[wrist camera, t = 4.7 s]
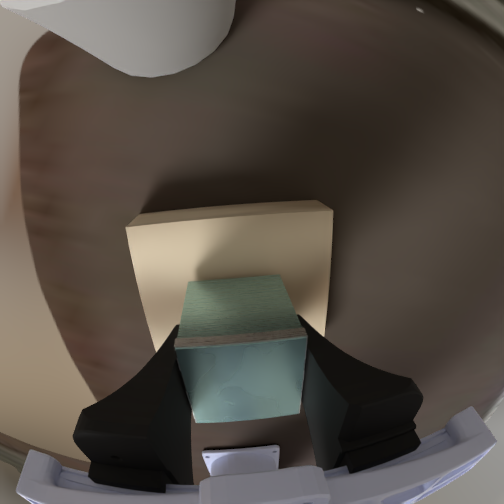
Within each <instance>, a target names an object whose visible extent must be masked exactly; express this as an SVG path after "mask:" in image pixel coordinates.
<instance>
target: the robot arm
mask: <svg viewBox="0 0 504 504" xmlns="http://www.w3.org/2000/svg"><path fill="white" fill-rule="evenodd" d="M297 316H298V319H299V321H300V324H301V326H302V327H304V328H305V331H306V333H307V335H308V338H307V349H306V360H305V370H304V380H303V389H302V397H301V400H302V403H303V406H304V409H305V413H306V417H307V422H308V426H309V430H310V435H311V439H312V444H313V449H314V454H315V459H316V465H317V467H316V466H311V465H307V466H296V467H290V468H283V469H278V465H279V450H280V448H279V446H278V445H270V446H261V447H252V448H241V449H226V450H204V451H202V456H203V458H204V461H205V463H206V465H207V468H208V470H209V472H210V474H211V477H209V478H206V479H204V480H202V481H201V482H200V485H194V483H193V472H192V456H191V412H192V409H191V406H190V403H189V399H188V396H187V393H186V390H185V386H184V383H183V380H182V376H181V373H180V369H179V365H178V362H177V358H176V354H175V350H174V343H175V338H177V336H178V331H179V325H180V324H178V325H176V326H175V327H174V328H173V330H172V331H171V333H170V334H169V336H168V337H167V339H166V340H165V341H164V343H163V344H162V346H161V347H160V348H159V350H158V351H157V352H156V353H155V355H154V356H153V357H152V358H151V359H150V361H149V362H148V363H147V364H146V365H145V366H144V367H143V369H142V370H141V371H140V372H139V373H138V374H136V375H135V376H134V377H133V378H132V379H131V380H130V381H128V382H127V383H126V384H125V385H123V386H122V387H121V388H120V389H118V390H117V391H115V392H114V393H112V394H111V395H109V396H107V397H106V398H104V399H102V400H101V401H99V402H97V403H95V404H93V405H91V406H89V407H87V408H85V409H83V410H82V412H81V414H80V416H79V419H78V422H77V425H76V428H75V431H74V434H73V439H74V442H75V443H76V445H77V446H78V447H79V448H80V450H81V451H82V452H83V453H84V454H85V455H86V456H87V457H88V458H89V459H90V460H91V465H90V469H89V473H87V472H83V471H79V470H75V469H71V468H67V467H64V466H62V465H61V464H60V463H59V462H58V461H57V460H56V459H55V458H53V457H51V456H49V455H47V454H44V453H41V452H38V451H35V450H30V451H29V453H28V456H27V459H26V461H25V464H24V467H23V470H22V473H21V476H20V479H19V482H18V485H17V488H16V492H17V493H18V494H19V495H21V496H22V497H23V498H25V499H26V500H28V501H29V502H31V503H32V504H413V503H415V502H417V501H419V500H421V499H423V498H425V497H426V496H428V495H430V494H432V493H434V492H435V491H437V490H438V489H440V488H442V487H444V486H445V485H447V484H448V483H450V482H452V481H453V480H455V479H457V478H458V477H460V476H461V475H463V474H464V473H466V472H468V471H469V470H470V469H471V468H473V466H475V464H477V463H478V462H479V461H480V460H481V459H482V458H483V457H484V456H485V455H486V454H487V453H488V452H489V451H490V450H491V448H492V447H493V446H494V445H495V444H496V443H497V440H496V439H495V437H494V436H493V434H492V433H491V431H490V430H489V429H488V427H487V426H486V425H485V423H484V422H483V420H482V419H481V417H480V416H479V415H478V413H477V412H476V411H475V409H474V408H473V407H472V406H470V407H469V408H467V409H465V410H463V411H461V412H460V413H458V414H456V415H454V416H453V417H452V418H451V419H450V420H449V421H448V423H447V424H446V426H445V428H443V429H441V430H439V431H437V432H435V433H433V434H431V435H428V436H426V437H424V438H422V439H419V438H418V436H417V434H416V432H415V431H414V429H415V428H416V424H415V423H414V421H413V419H414V417H415V416H416V414H417V412H418V410H419V409H420V407H421V404H422V402H423V395H422V393H421V392H420V390H419V389H418V387H417V385H416V384H415V383H414V382H413V380H412V379H411V378H407V377H403V376H399V375H395V374H391V373H388V372H385V371H382V370H379V369H377V368H374V367H372V366H370V365H367V364H365V363H363V362H361V361H359V360H357V359H355V358H353V357H352V356H350V355H348V354H347V353H345V352H343V351H342V350H340V349H339V348H337V347H336V346H335V345H333V344H332V343H331V342H329V341H328V340H327V339H326V338H325V337H323V336H322V335H321V334H320V333H319V332H318V331H316V330H315V329H314V328H313V327H312V326H311V325H310V324H309V323H308V322H307V321H306V320H305V319H304V318H303V317H302V316H300V315H299V314H297Z"/></svg>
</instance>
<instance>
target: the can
mask: <svg viewBox="0 0 504 504" xmlns="http://www.w3.org/2000/svg"><path fill="white" fill-rule="evenodd" d="M235 3H236V0H0V4H1V6H2V7H4V8H6V9H8V10H10V11H12V12H15V13H16V14H19V15H21V16H23V17H25V18H27V19H29V20H31V21H33V22H35V23H37V24H39V25H40V26H43V27H45V28H46V29H48V30H50V31H52V32H54V33H55V34H57V35H59V36H61V37H63V38H65V39H66V40H68V41H70V42H72V43H73V44H75V45H77V46H79V47H80V48H82V49H84V50H85V51H87V52H89V53H90V54H92V55H94V56H95V57H97V58H99V59H100V60H102V61H104V62H105V63H107V64H108V65H110V66H112V67H113V68H115V69H117V70H120V71H122V72H124V73H126V74H129V75H131V76H142V77H157V76H163V75H169V74H175V73H177V72H179V71H182V70H184V69H186V68H189V67H191V66H194V65H196V64H197V63H199V62H200V61H201V60H203V59H204V58H205V57H207V56H208V55H210V54H211V53H212V52H214V51H215V50H216V48H217V47H218V46H219V45H220V43H221V42H222V41H223V40H224V38H225V37H226V36H227V35H228V32H229V29H230V26H231V23H232V21H233V18H234V11H235Z"/></svg>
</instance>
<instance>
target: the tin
mask: <svg viewBox="0 0 504 504" xmlns="http://www.w3.org/2000/svg"><path fill="white" fill-rule="evenodd" d="M307 338H308V335H307V333H306V331H305V328H304V327H302V326H301V324H300V321H299V319H298V316H297V314H296V312H295V309H294V307H293V305H292V302H291V300H290V298H289V295H288V293H287V291H286V288H285V286H284V284H283V281H282V279H281V277H280V274H277V275H266V276H254V277H242V278H230V279H217V280H203V281H189V282H188V285H187V290H186V295H185V300H184V305H183V310H182V315H181V320H180V325H179V331H178V336H177V338H175V343H174V350H175V354H176V358H177V362H178V365H179V369H180V373H181V376H182V380H183V383H184V386H185V390H186V393H187V396H188V399H189V403H190V406H191V409H192V412H193V415H194V418H195V421H196V423H211V422H229V421H242V420H253V419H262V418H271V417H278V416H285V415H292V414H298V413H300V406H301V397H302V389H303V380H304V370H305V360H306V349H307Z"/></svg>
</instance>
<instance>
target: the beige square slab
mask: <svg viewBox="0 0 504 504" xmlns="http://www.w3.org/2000/svg"><path fill="white" fill-rule="evenodd" d="M332 231H333V210H332V209H330V208H329V207H327V206H326V205H324V204H322V203H321V202H319V201H318V200H303V201H283V202H266V203H251V204H237V205H224V206H212V207H201V208H190V209H180V210H170V211H161V212H152V213H143V214H139V215H138V216H137V217H136V218H135V219H134V220H133V221H132V222H131V223H130V224H129V225H128V226H127V227H126V232H127V237H128V243H129V248H130V253H131V257H132V262H133V267H134V271H135V276H136V280H137V284H138V288H139V292H140V296H141V300H142V304H143V308H144V312H145V315H146V319H147V323H148V326H149V330H150V333H151V336H152V340H153V343H154V346H155V349H156V352H157V351H158V350H159V348H160V347H161V346H162V344H163V343H164V341H165V340H166V339H167V337H168V336H169V334H170V333H171V331H172V330H173V328H174V327H175V326H176V325H178V324H180V320H181V315H182V310H183V305H184V300H185V295H186V290H187V285H188V282H189V281H203V280H217V279H230V278H242V277H254V276H266V275H277V274H280V277H281V279H282V281H283V284H284V286H285V288H286V291H287V293H288V295H289V298H290V300H291V302H292V305H293V307H294V309H295V312H296V314H299V315H300V316H302V317H303V318H304V319H305V320H306V321H307V322H308V323H309V324H310V325H311V326H312V327H313V328H314V329H315V330H316V331H318V332H319V333H320V334H321V335H322V336H323V337H324V333H325V324H326V314H327V304H328V293H329V281H330V267H331V251H332Z"/></svg>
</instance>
